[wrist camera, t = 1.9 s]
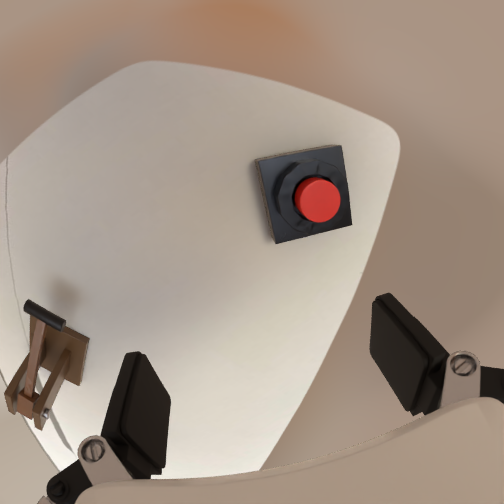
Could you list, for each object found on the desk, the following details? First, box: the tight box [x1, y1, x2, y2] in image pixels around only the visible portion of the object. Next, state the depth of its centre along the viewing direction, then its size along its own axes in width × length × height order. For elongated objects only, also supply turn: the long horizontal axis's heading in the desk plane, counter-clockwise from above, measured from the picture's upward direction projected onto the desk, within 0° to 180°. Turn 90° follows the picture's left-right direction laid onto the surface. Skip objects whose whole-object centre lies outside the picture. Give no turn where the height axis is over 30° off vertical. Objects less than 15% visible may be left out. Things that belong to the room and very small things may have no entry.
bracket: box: [4, 315, 89, 431], centre depth 26 cm, size 10×9×13 cm
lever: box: [17, 299, 66, 420], centre depth 22 cm, size 14×5×2 cm, turn 151°
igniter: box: [255, 145, 352, 244], centre depth 26 cm, size 8×8×4 cm
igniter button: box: [295, 177, 340, 222], centre depth 24 cm, size 4×4×2 cm
